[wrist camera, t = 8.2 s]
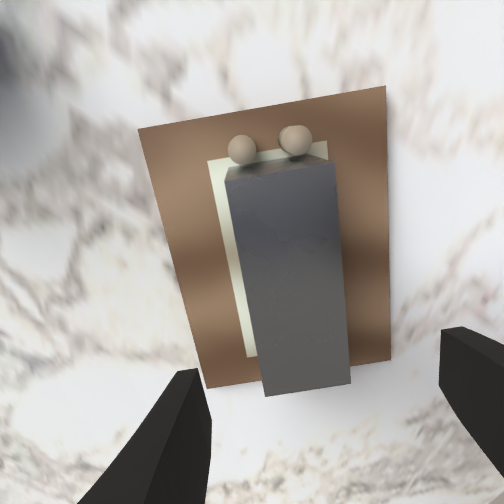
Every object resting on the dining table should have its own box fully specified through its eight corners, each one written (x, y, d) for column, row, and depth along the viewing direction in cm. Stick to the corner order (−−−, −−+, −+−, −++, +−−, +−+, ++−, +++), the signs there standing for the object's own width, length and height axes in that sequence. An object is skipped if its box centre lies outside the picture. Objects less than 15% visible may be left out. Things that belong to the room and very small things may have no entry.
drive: (324, 323, 20) (351, 383, 15) (258, 334, 20) (264, 396, 15) (308, 153, 16) (335, 162, 12) (228, 167, 16) (223, 181, 12)
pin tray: (384, 350, 22) (409, 388, 19) (208, 377, 22) (202, 420, 19) (377, 88, 16) (411, 77, 13) (143, 129, 17) (119, 128, 13)
